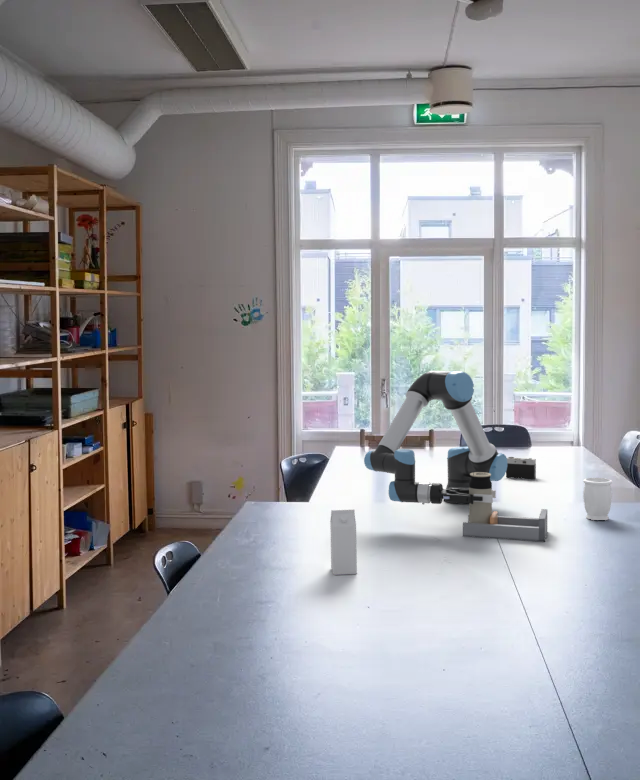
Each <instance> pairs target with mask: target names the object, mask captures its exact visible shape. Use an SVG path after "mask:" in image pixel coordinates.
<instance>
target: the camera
mask: <svg viewBox="0 0 640 780" xmlns="http://www.w3.org/2000/svg"><path fill="white" fill-rule="evenodd" d="M506 458H507V470H506V473H505V477H506V478H509V477H514V478H513V479H522V478H525V479H526V480H535V479H536V477H537V471H536V470H537V464H536V463H537V460H536V458H532V457H529V458H527V457H526V458H525V457H524V458H523V457H514V456H508V457H506ZM525 479H524V480H525Z"/></svg>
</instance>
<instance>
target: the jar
mask: <svg viewBox="0 0 640 780" xmlns="http://www.w3.org/2000/svg"><path fill="white" fill-rule="evenodd" d="M582 482H583V484H584V486H583V491H582V494H583V495H582V498H583V505H584V509H585V512H586V513H587V514H586V516H585V518H586V519H587V520H589V519H591V520H590V521H594V520H605V521H608V520H610V518H609V517H610V516H609V513H610V510H611V508H612V507H611V506H612V501H613V492H612V491H613V490H612V486H611V485H612V484H613V480H612V479H608V478H605V477H588V478H587V477H586V478H584V479H583V481H582Z"/></svg>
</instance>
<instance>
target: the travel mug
mask: <svg viewBox="0 0 640 780" xmlns="http://www.w3.org/2000/svg"><path fill="white" fill-rule="evenodd" d="M470 475H471V480H470V482H469V494H472V495H473V496H474V494H486V495H492V490H493V486H492V485H493V483H492V481H490V476H491V474H490V473H485V472H474V473H470ZM492 505H493V503H486V502H474V501H473V504H471V503H469V504H468V509H469V511H468V515H469V523H483V524H490V516H491V515H492V513H493V507H492Z"/></svg>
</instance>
